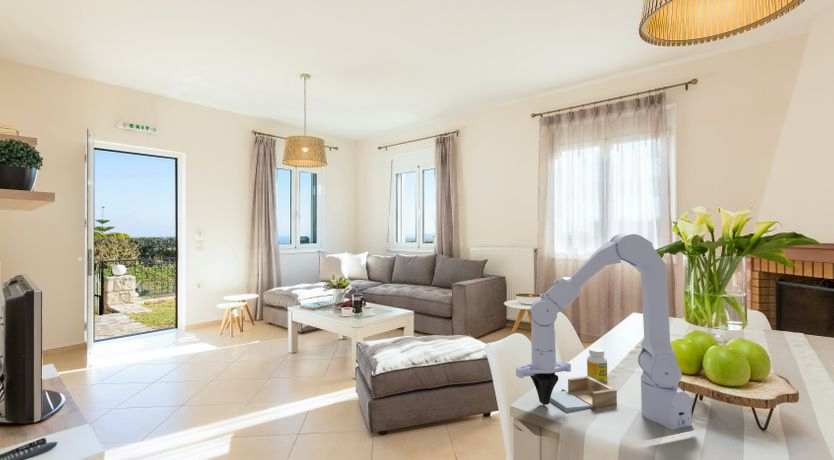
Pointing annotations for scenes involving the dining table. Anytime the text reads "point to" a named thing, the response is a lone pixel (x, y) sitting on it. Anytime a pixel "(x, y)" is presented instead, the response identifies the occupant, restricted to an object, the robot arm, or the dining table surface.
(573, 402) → the panel
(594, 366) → the supplement bottle
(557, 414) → the dining table surface
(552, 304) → the robot arm
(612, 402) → the crate
